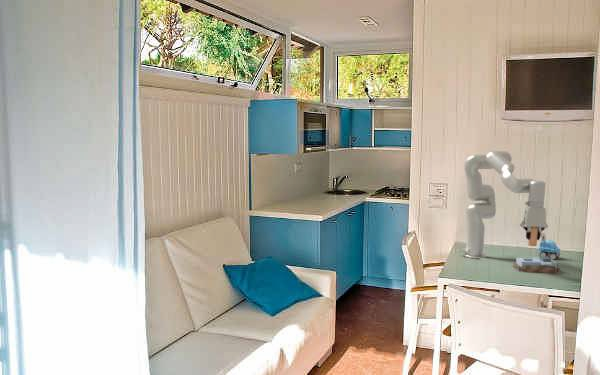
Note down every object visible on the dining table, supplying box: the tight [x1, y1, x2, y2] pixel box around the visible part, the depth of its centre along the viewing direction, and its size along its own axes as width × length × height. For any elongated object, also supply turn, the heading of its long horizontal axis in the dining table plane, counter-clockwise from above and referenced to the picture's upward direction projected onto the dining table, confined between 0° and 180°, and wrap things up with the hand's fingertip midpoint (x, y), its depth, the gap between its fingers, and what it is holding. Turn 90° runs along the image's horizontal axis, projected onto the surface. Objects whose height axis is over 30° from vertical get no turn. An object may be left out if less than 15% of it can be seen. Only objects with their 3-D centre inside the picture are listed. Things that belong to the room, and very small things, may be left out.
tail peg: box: [527, 227, 538, 247], centre depth 278 cm, size 4×4×10 cm
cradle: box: [512, 262, 562, 275], centre depth 284 cm, size 21×13×4 cm, turn 86°
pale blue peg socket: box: [515, 255, 558, 271], centre depth 283 cm, size 18×14×7 cm
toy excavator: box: [538, 231, 561, 261], centre depth 317 cm, size 9×17×17 cm, turn 51°
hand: (532, 239), depth 278 cm, fingers closed on tail peg, 4 cm apart
